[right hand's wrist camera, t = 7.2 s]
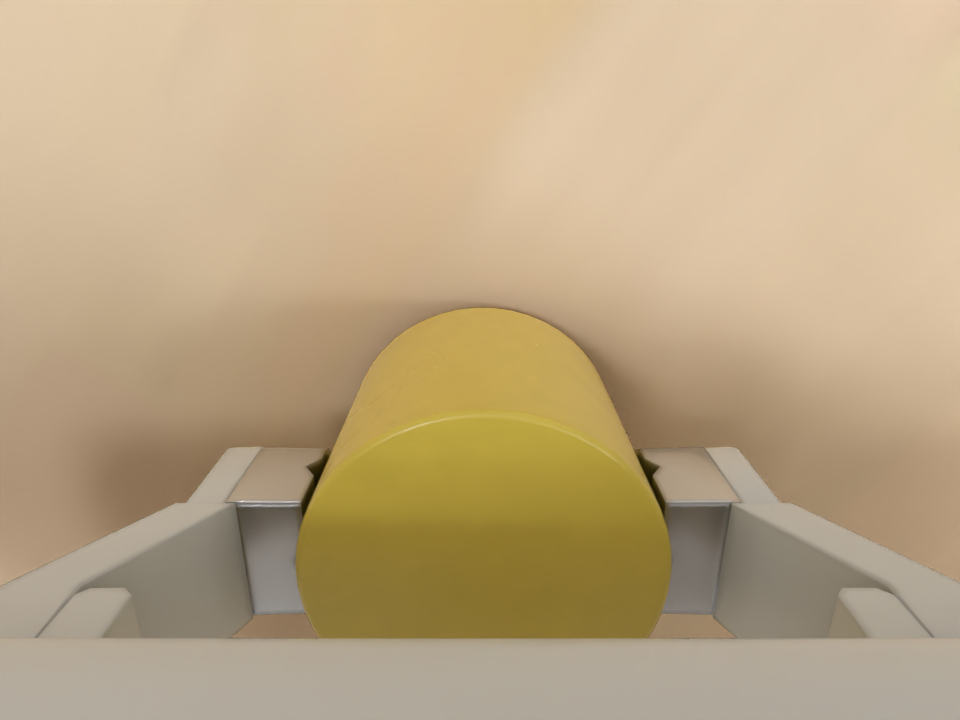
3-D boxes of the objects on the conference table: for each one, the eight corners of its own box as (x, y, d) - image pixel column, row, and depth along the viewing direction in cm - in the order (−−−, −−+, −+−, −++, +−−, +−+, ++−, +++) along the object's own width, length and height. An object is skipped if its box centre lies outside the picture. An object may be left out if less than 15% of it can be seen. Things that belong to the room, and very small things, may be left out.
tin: (593, 283, 11) (656, 378, 7) (622, 514, 12) (686, 696, 9) (324, 332, 11) (242, 449, 7) (388, 551, 13) (348, 741, 9)
